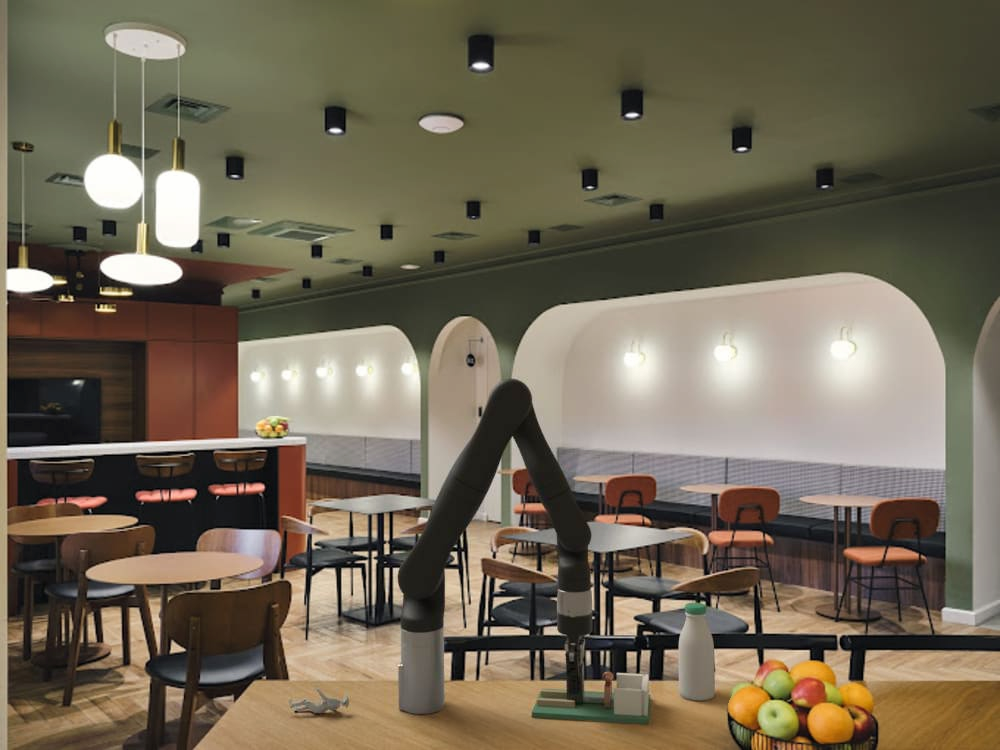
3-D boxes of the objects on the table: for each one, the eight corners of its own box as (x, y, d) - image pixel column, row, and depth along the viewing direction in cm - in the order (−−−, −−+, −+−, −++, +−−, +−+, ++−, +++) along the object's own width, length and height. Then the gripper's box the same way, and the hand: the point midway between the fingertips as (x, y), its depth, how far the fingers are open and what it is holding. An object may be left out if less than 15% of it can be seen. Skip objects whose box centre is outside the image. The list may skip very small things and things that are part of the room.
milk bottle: (715, 702, 188) (714, 610, 188) (679, 700, 190) (677, 608, 190) (714, 690, 196) (712, 600, 196) (679, 688, 197) (677, 599, 197)
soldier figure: (299, 710, 190) (352, 691, 190) (301, 731, 186) (355, 712, 187) (286, 695, 184) (340, 675, 185) (288, 716, 181) (343, 696, 181)
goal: (614, 714, 180) (613, 689, 180) (617, 695, 190) (616, 672, 190) (647, 716, 179) (647, 691, 179) (648, 697, 189) (648, 674, 189)
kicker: (566, 705, 184) (565, 667, 184) (569, 695, 190) (568, 658, 190) (612, 708, 182) (612, 670, 182) (614, 697, 188) (614, 660, 188)
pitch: (531, 717, 181) (531, 706, 181) (541, 692, 195) (541, 683, 195) (648, 724, 177) (648, 713, 177) (650, 699, 191) (650, 689, 191)
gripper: (561, 600, 194) (562, 677, 194) (552, 618, 180) (553, 701, 180) (595, 601, 193) (595, 679, 193) (589, 619, 179) (589, 703, 179)
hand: (575, 689), depth 187 cm, fingers closed on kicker, 3 cm apart
